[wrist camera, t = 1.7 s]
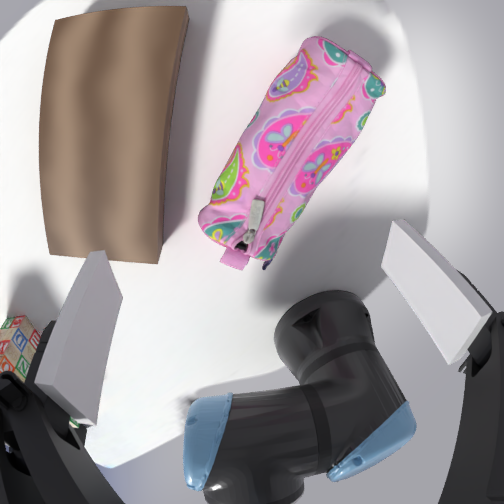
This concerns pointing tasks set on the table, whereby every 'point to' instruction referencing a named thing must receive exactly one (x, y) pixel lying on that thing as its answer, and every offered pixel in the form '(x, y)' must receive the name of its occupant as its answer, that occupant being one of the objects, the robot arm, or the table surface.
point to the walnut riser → (109, 130)
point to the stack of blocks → (19, 348)
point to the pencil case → (289, 149)
